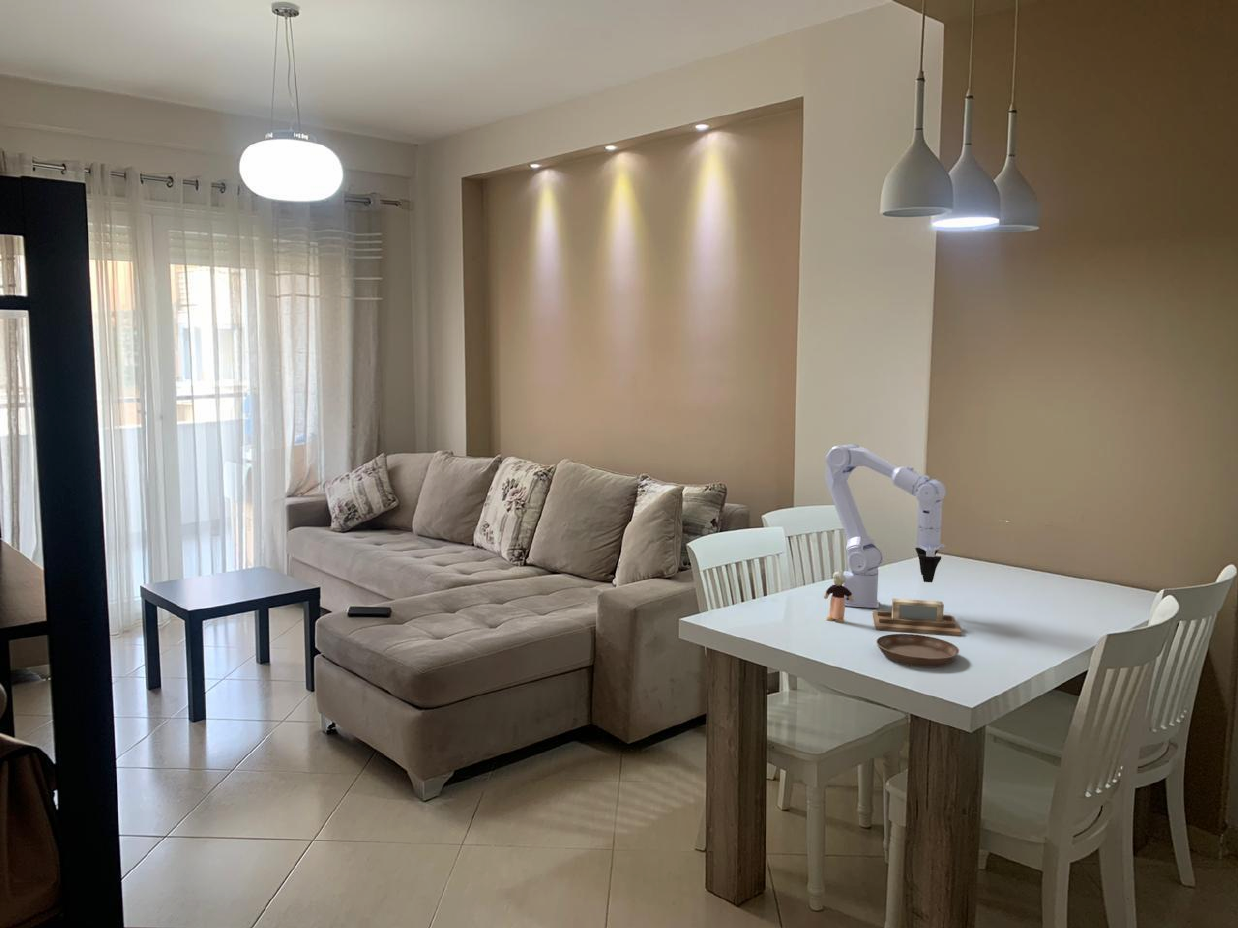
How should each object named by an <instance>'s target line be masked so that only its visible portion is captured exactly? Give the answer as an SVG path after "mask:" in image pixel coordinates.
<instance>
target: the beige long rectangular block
mask: <svg viewBox="0 0 1238 928" xmlns="http://www.w3.org/2000/svg"><path fill="white" fill-rule="evenodd" d="M891 603H892V604H891V611H892V618H894V619H908V620H923V621H937V622H943V615H944V603H943V601H940V600H939V601H938V600H937V601H935V600H921V599H906V598H892V602H891Z"/></svg>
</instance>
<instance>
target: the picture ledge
mask: <svg viewBox="0 0 1238 928" xmlns="http://www.w3.org/2000/svg"><path fill="white" fill-rule="evenodd" d="M872 618H873V619H872V620H873V624H874V629H875V631H885V632H886V631H888V632H899V633H900V632H901V633H912V634H913V633H916V634H918V633H919V634H926V635H927V634H929V635H941V636H942V635H943V636H956V637H957V636H958V637H961V636H962V630H961V628H960V626H959V625H958V623H957V620H956V618H955V616H952V615H947V614H943V622H937V621H923V620H908V619H894V618H892V610H890V611H889V610H872Z"/></svg>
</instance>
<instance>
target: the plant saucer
mask: <svg viewBox="0 0 1238 928" xmlns="http://www.w3.org/2000/svg"><path fill="white" fill-rule="evenodd" d="M875 643H876V645H877V647H878V649H879V650H880V652H881V654H883V655H884V656H885V657H886V658H887V659H888V660H890V661H893V662H896V663H898V664H902V665H906V666H910V667H911V666H912V667H917V668H918V667H921V668H937V667H942V666H946V665H948V664H949V663H951V662H952V661H953V660H954V659H955V658H956V657H957V656H958V655H959V653H960V649H959V647H958V646H957V645H955V644H954V643H951V642H949V641H947V640H944V639H941V638H938V637H933V636H930V635H929V636H928V635H922V634H913V633H891V634H885V635H881V636H879V637H878V638H877V639H876V641H875Z"/></svg>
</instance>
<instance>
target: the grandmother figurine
mask: <svg viewBox="0 0 1238 928" xmlns="http://www.w3.org/2000/svg"><path fill="white" fill-rule="evenodd" d="M843 573H844V572H841V571H835V572H834V573H833V574H832V579H833V584H832V585H831V586H829V587H828V588H827V589H826V591H825V593H824V596H823V599H825V600H826V599H828V598H829V596H830V595H831V596H830V603H829V613H828V614H829V615H828V616H827V617H826V619H825V620H826V621H830V622H833V621H835V622H836V623H844V622H845V611H846V606H845V598H844V595H845V596H847V597H848V598H849V599H850V602H853V601H854V599H853V597H852V593H851V592H850V591H849V590H848V589H847V588H846V587H844V586H843V583H844V582H845V581H846V577H845V576H844V575H843Z"/></svg>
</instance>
